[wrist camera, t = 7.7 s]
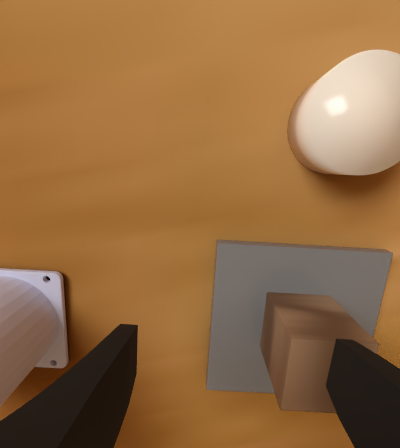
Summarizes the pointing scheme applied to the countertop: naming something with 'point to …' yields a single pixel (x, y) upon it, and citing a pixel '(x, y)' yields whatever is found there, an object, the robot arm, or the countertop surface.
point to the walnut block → (305, 347)
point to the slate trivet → (281, 283)
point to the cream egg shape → (350, 117)
